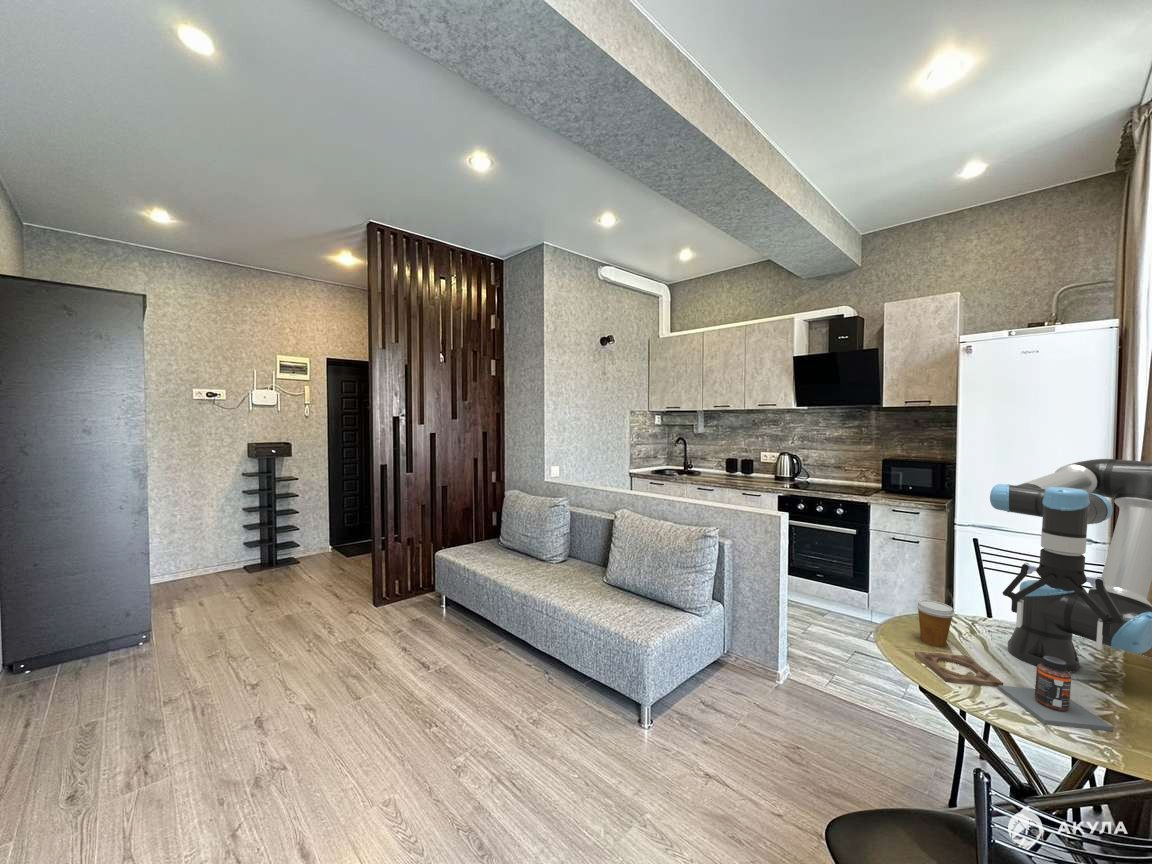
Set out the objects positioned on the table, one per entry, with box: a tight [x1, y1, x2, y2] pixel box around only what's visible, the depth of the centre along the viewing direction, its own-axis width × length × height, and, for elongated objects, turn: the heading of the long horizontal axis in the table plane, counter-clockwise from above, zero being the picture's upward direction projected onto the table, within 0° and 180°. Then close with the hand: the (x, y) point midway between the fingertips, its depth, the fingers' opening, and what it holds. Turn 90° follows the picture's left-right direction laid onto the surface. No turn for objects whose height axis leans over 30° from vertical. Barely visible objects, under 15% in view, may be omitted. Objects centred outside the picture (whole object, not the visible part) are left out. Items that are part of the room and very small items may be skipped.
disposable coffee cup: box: [915, 599, 955, 648], centre depth 146 cm, size 10×10×12 cm
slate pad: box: [997, 685, 1114, 732], centre depth 113 cm, size 14×14×1 cm
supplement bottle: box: [1034, 656, 1072, 711], centre depth 113 cm, size 6×6×11 cm
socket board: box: [914, 651, 1004, 688], centre depth 130 cm, size 14×14×1 cm
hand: (1057, 636), depth 113 cm, fingers open, 13 cm apart
